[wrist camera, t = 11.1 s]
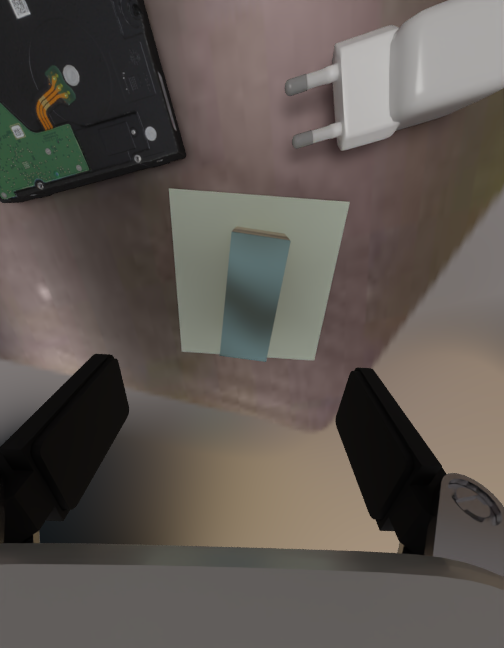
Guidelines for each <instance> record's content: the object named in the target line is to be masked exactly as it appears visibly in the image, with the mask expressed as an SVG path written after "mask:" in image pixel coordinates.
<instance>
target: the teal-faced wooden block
mask: <svg viewBox="0 0 504 648" xmlns="http://www.w3.org/2000/svg"><path fill="white" fill-rule="evenodd" d="M290 242H291V241H290V239H289V238H288V237H287V236H286V235H285V234H284V233H277V232H271V231H264V230H258V229H251V228H245V227H238V226H236V227H235V228H234V230H233V231H232V232H231V242H230V253H229V263H228V274H227V284H226V294H225V305H224V315H223V326H222V336H221V347H220V356H226V357H234V358H241V359H249V360H257V361H265V362H266V359H267V354H268V350H269V345H270V340H271V335H272V330H273V325H274V320H275V315H276V311H277V306H278V301H279V296H280V291H281V286H282V281H283V276H284V272H285V267H286V262H287V257H288V252H289V247H290Z"/></svg>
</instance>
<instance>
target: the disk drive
mask: <svg viewBox="0 0 504 648" xmlns="http://www.w3.org/2000/svg"><path fill="white" fill-rule="evenodd" d="M185 157H186V153H185V149H184V146H183V142H182V139H181V134H180V131H179V128H178V124H177V120H176V116H175V113H174V109H173V106H172V102H171V99H170V95H169V91H168V88H167V84H166V80H165V77H164V73H163V70H162V66H161V63H160V59H159V55H158V52H157V48H156V45H155V41H154V37H153V33H152V30H151V26H150V23H149V19H148V15H147V12H146V9H145V5H144V1H143V0H0V201H1V202H2V203H19V202H24V201H28V200H31V199H35V198H42V197H45V196H50V195H52V194H54V193H57V192H61V191H65V190H68V189H72V188H76V187H80V186H83V185H87V184H91V183H95V182H98V181H101V180H106V179H109V178H113V177H117V176H119V175H124V174H127V173H131V172H134V171H138V170H142V169H146V168H149V167H155V166H160V165H164V164H167V163H170V162H171V161H175V160H178V159H183V158H185Z"/></svg>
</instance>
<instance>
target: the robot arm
mask: <svg viewBox="0 0 504 648" xmlns="http://www.w3.org/2000/svg"><path fill="white" fill-rule="evenodd" d="M128 414H129V405H128V401H127V397H126V393H125V388H124V384H123V380H122V376H121V371H120V367H119V363H118V360H117V359H114V357H113V356H112V355H107V354H94V355H93V356H92V357H91V358H90V359H89V360H88V361H87V362H86V363H85V364H84V365H83V366H82V367H81V368H80V369H79V370H78V371H77V372H76V373H75V374H74V375H73V376H72V377H71V378H70V379H69V380H68V381H67V382H66V383H65V384H63V386H61V387H60V389H59V390H57V391H56V392H55V393H54V395H52V396H51V398H49V399H48V400H47V401H46V402H45V403H44V404H43V405H42V406H41V407H40V408H39V409H38V410H37V411H36V412H35V413H34V414H33V415H32V416H31V417H30V418H29V419H28V420H27V421H26V422H25V423H24V424H23V425H22V426H21V427H20V428H19V429H18V430H17V431H16V432H15V433H14V434H13V435H12V436H11V437H10V438H9V439H8V440H7V441H6V442H5V443H4V444H3V445H2V446H1V447H0V648H504V507H503V505H502V504H501V502H500V501H499V500H498V499H497V498H496V497H495V496H494V495H493V494H492V493H491V492H490V491H489V490H488V489H486V488H485V487H484V486H483V485H481V484H480V483H478V482H476V481H475V480H473V479H471V478H469V477H467V476H465V475H461V474H457V473H450V474H446V473H445V471H444V470H443V468H442V465H441V464H440V463H439V461H438V460H437V458H436V457H435V456H434V454H433V453H432V451H431V450H430V448H429V447H428V446H427V444H426V443H425V441H424V440H423V439H422V437H421V436H420V434H419V433H418V432H417V430H416V429H415V428H414V426H413V425H412V423H411V422H410V420H409V419H408V418H407V417H406V415H405V413H404V412H403V411H402V409H401V408H400V406H399V405H398V404H397V402H396V401H395V399H394V398H393V397H392V395H391V394H390V393H389V391H388V390H387V388H386V387H385V386H384V384H383V383H382V381H381V380H380V378H379V377H378V376H377V374H376V373H375V371H374V370H373V369H371V368H356V369H355V370H354V371H351V373H350V375H349V378H348V381H347V384H346V388H345V391H344V394H343V397H342V400H341V403H340V406H339V409H338V412H337V415H336V426H337V429H338V432H339V434H340V437H341V440H342V442H343V445H344V448H345V450H346V453H347V456H348V458H349V461H350V464H351V467H352V469H353V472H354V475H355V477H356V480H357V483H358V485H359V488H360V491H361V493H362V496H363V499H364V501H365V504H366V507H367V509H368V512H369V514H370V516H371V517H372V518H373V519H376V522H377V524H378V527H379V530H380V531H395V533H396V535H397V537H398V540H399V541H400V543H399V548H398V552H397V553H382V552H362V551H334V550H306V549H305V550H304V549H276V548H241V547H204V546H167V545H122V544H121V545H120V544H77V543H76V544H75V543H74V544H73V543H40V536H39V530H40V528H41V526H42V525H43V524H44V522H45V520H47V521H64V519H65V517H66V515H67V514H68V512H69V511H70V510H71V509H73V508H75V507H76V506H77V504H78V503H79V501H80V499H81V497H82V496H83V494H84V492H85V490H86V489H87V487H88V485H89V483H90V482H91V480H92V478H93V476H94V475H95V473H96V471H97V469H98V468H99V466H100V464H101V462H102V461H103V459H104V457H105V455H106V454H107V452H108V450H109V448H110V447H111V444H112V443H113V441H114V439H115V438H116V436H117V434H118V432H119V431H120V429H121V427H122V425H123V424H124V422H125V420H126V418H127V416H128Z"/></svg>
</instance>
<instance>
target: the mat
mask: <svg viewBox="0 0 504 648" xmlns="http://www.w3.org/2000/svg"><path fill="white" fill-rule="evenodd" d="M169 198H170V210H171V223H172V235H173V247H174V260H175V272H176V285H177V297H178V310H179V322H180V335H181V347H182V352H196V353H211V354H220V347H221V336H222V326H223V315H224V305H225V294H226V284H227V274H228V263H229V253H230V242H231V232H232V231H233V230H234V228H235V227H236V226H238V227H245V228H251V229H258V230H264V231H271V232H277V233H284V234H285V235H286V236H287V237H288V238H289V239H290V241H291V242H290V247H289V252H288V257H287V262H286V267H285V272H284V276H283V281H282V286H281V291H280V296H279V301H278V306H277V311H276V315H275V320H274V325H273V330H272V335H271V340H270V345H269V350H268V354H267V357H269V358H284V359H299V360H314V359H315V354H316V350H317V345H318V341H319V337H320V332H321V328H322V323H323V319H324V314H325V310H326V305H327V301H328V297H329V292H330V288H331V283H332V279H333V274H334V270H335V265H336V261H337V257H338V252H339V248H340V243H341V239H342V234H343V230H344V225H345V221H346V217H347V212H348V208H349V203H350V202H344V201H330V200H317V199H304V198H290V197H277V196H264V195H250V194H237V193H224V192H210V191H197V190H184V189H170V188H169Z"/></svg>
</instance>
